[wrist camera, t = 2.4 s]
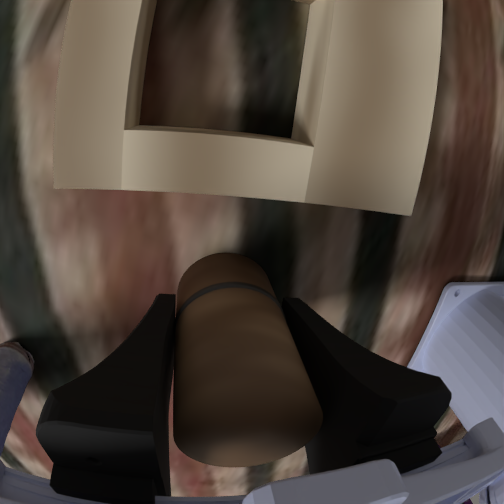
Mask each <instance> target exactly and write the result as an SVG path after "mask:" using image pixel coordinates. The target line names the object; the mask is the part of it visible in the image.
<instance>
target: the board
mask: <svg viewBox="0 0 504 504" xmlns="http://www.w3.org/2000/svg"><path fill="white" fill-rule="evenodd" d="M294 1H298V2H302V3H306V4H310V10H309V18H308V25H307V33H306V40H305V47H304V54H303V62H302V69H301V76H300V82H299V89H298V96H297V103H296V109H295V116H294V123H293V129H292V136H291V138H284V137H277V136H269V135H262V134H253V133H245V132H236V131H226V130H215V129H203V128H189V127H172V126H147V125H139V122H140V111H141V101H142V92H143V84H144V76H145V68H146V61H147V54H148V48H149V41H150V35H151V30H152V24H153V19H154V13H155V8H156V3H157V0H71V4H70V8H69V13H68V17H67V22H66V27H65V32H64V38H63V44H62V50H61V56H60V63H59V71H58V79H57V89H56V100H55V114H54V137H53V180H54V189H110V190H139V191H161V192H180V193H196V194H211V195H225V196H238V197H250V198H262V199H273V200H283V201H293V202H303V203H312V204H321V205H330V206H339V207H347V208H355V209H363V210H371V211H378V212H385V213H393V214H400V215H406V216H411V215H412V211H413V207H414V204H415V200H416V196H417V192H418V187H419V183H420V179H421V175H422V170H423V166H424V161H425V156H426V151H427V146H428V141H429V135H430V130H431V124H432V118H433V111H434V105H435V98H436V90H437V82H438V73H439V63H440V51H441V37H442V12H443V0H294Z"/></svg>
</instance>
